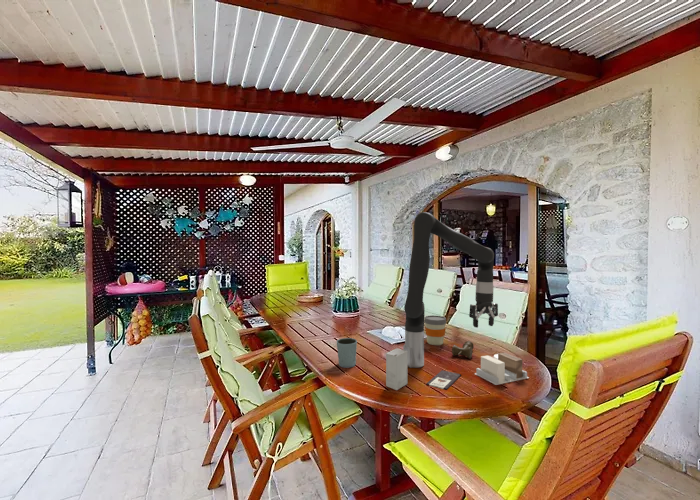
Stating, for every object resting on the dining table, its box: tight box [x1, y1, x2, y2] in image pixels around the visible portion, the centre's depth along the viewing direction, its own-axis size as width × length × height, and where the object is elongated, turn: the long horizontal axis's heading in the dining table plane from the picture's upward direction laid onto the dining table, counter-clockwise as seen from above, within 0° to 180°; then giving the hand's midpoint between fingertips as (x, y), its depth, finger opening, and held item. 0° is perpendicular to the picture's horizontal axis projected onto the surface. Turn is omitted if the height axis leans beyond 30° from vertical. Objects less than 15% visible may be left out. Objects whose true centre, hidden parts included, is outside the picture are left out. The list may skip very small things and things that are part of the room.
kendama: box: [451, 340, 475, 359], centre depth 187 cm, size 6×10×20 cm
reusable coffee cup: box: [424, 315, 447, 346], centre depth 207 cm, size 12×13×15 cm
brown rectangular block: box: [497, 352, 523, 379], centre depth 158 cm, size 4×10×8 cm, turn 22°
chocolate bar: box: [426, 370, 462, 391], centre depth 154 cm, size 9×1×18 cm
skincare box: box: [385, 347, 408, 391], centre depth 149 cm, size 8×6×15 cm
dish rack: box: [474, 367, 530, 386], centre depth 156 cm, size 19×13×4 cm
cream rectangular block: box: [480, 355, 505, 382], centre depth 154 cm, size 4×10×8 cm, turn 21°
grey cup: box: [336, 337, 358, 369], centre depth 173 cm, size 10×10×12 cm
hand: (483, 326), depth 159 cm, fingers open, 8 cm apart
